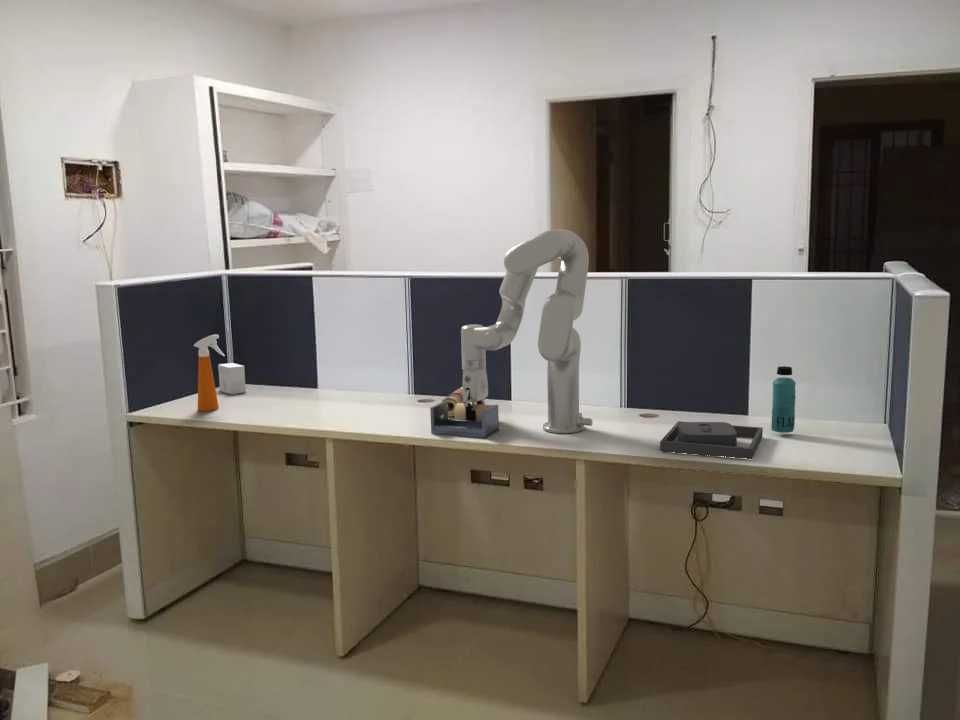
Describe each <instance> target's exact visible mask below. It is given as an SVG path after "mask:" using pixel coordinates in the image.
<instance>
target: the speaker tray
mask: <svg viewBox="0 0 960 720" xmlns="http://www.w3.org/2000/svg"><path fill="white" fill-rule="evenodd" d="M682 422H683V421H677V422H676V423H675V424H673V427H672V428H671V429H669V431H668V432H667V433H666V434H665V435H664V437H662V438H661V440H660V443H659V452H660V451H663V452H662V453H665V452H675V453H674V454H676V453H687V454H698V455H708V456H707V457H709V455H710V456H724V457H725V456H726V457H735V458H747V459H752V458H754V457H755V455H754V454H756V452H757V450H758V448H759V446H758V445H760V443H761V441H762V440H761V439H763V431H764V430H763V429H764V428H763V427H762V426H761V427H759V426H746V425H745V426H744V425H735V424H734V425H732V424H731V425H732V426H733V428H734V429H735V431H736V432H737V436H742V437H741V438H748V437H752V438H751V439H752V440H751V442H750V444H749V446H748V447H743V446H737V447H733V446H721V445H709V444H697V443H685V442H679V441H675V440H676V438H678V437H679V423H682ZM674 439H675V440H674ZM673 440H674V441H673ZM757 447H758V448H757ZM755 451H756V452H755ZM687 454H686V455H687ZM698 455H697V456H698ZM753 456H754V457H753ZM752 460H753V459H752Z"/></svg>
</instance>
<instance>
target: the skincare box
mask: <svg viewBox="0 0 960 720" xmlns="http://www.w3.org/2000/svg"><path fill="white" fill-rule="evenodd" d="M217 368H218V380H219V392H222V393H224V394H225V393H226V394H228V395H235V394H243V393H246V392H247V391H246V373H245V371H246V370H245V365H242V364H239V363H234V362H230V363H229V362H228V363H219V364H218V365H217Z"/></svg>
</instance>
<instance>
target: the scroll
mask: <svg viewBox="0 0 960 720" xmlns="http://www.w3.org/2000/svg"><path fill="white" fill-rule="evenodd" d="M462 387H463V386H460V388H458V389H456V390H454V391H453V392H451V393H450V394H449V395H448V396H446V397H445V398H444V399H442V400H441V402H440V403H442V402H444V401H448V416H449V417H453V416H454V410H455V406H456V404H457V403H463V391H462ZM469 400H472V399H469Z"/></svg>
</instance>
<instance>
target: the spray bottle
mask: <svg viewBox="0 0 960 720" xmlns="http://www.w3.org/2000/svg"><path fill="white" fill-rule="evenodd" d="M219 335H220V334H212V335H211V334H210V335H207V336H206V337H203V338H202V339H200V340H198V341H196V342H195V343H194V344H193V347H195V348H198V354H197V355H198V361H197V362H198V363H197V364H198V370H197V371H198V372H197V374H198V376H197V411H199V412H212V411H211V410H213V411H215V410H218V409H219V408H220V407H219V402H218V396H217V389H216V386H215V380H214V379H215V378H214V374H213V368H212V362H211V357H210V351H209V350H210V349H208V348H209V347H211V348H212V349H213V350H215V351H216V352H217V353H218V354H219V355H221V356H223V357H225V356H226V355H225V354H224V353H223V351H222V350H221V349H220V348H219V346H218V341H217V340H218V339H219V338H220V336H219Z"/></svg>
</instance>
